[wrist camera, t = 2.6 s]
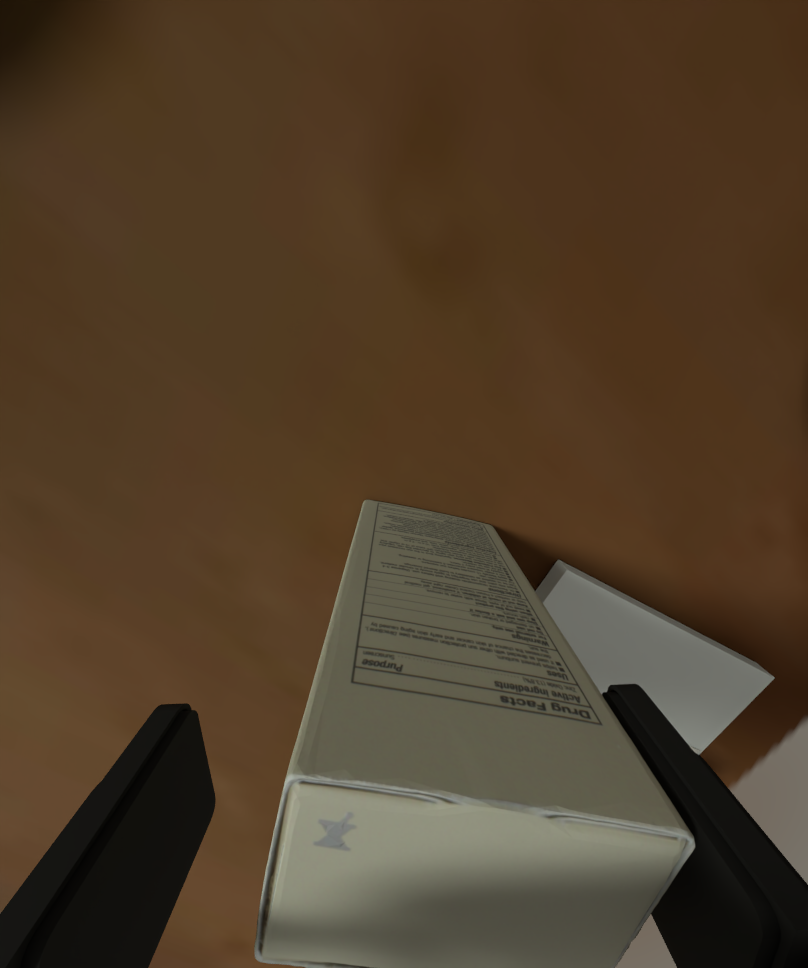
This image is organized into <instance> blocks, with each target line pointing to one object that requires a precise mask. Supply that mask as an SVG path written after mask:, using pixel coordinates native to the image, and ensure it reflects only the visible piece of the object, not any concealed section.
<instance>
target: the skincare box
mask: <svg viewBox="0 0 808 968" xmlns="http://www.w3.org/2000/svg"><path fill="white" fill-rule="evenodd" d="M694 849H695V841H694V836H693V835H692V833H691V832H690V830H689V829H688V827H687V826H686V824H685V823H684V821H683V819H682V818H681V816H680V815H679V813H678V812H677V810H676V808H675V807H674V805H673V804H672V802H671V801H670V799H669V798H668V796H667V795H666V793H665V791H664V790H663V788H662V787H661V785H660V784H659V782H658V781H657V779H656V778H655V776H654V775H653V773H652V772H651V770H650V768H649V767H648V765H647V764H646V762H645V761H644V759H643V758H642V756H641V754H640V753H639V751H638V750H637V748H636V747H635V745H634V743H633V742H632V740H631V739H630V737H629V736H628V734H627V733H626V732H625V730H624V729H623V727H622V725H621V724H620V722H619V721H618V719H617V718H616V716H615V715H614V713H613V711H612V710H611V708H610V707H609V705H608V704H607V702H606V701H605V699H604V697H603V696H602V694H601V693H600V691H599V690H598V688H597V687H596V685H595V683H594V682H593V680H592V679H591V677H590V676H589V674H588V673H587V671H586V670H585V668H584V666H583V665H582V663H581V662H580V660H579V659H578V657H577V656H576V654H575V652H574V651H573V649H572V648H571V646H570V645H569V643H568V642H567V640H566V638H565V637H564V635H563V634H562V632H561V631H560V629H559V628H558V626H557V625H556V623H555V622H554V620H553V618H552V617H551V615H550V614H549V612H548V611H547V609H546V608H545V606H544V604H543V603H542V601H541V600H540V598H539V597H538V595H537V594H536V592H535V591H534V589H533V588H532V586H531V585H530V583H529V581H528V580H527V578H526V577H525V575H524V574H523V572H522V571H521V569H520V567H519V566H518V564H517V563H516V561H515V560H514V558H513V557H512V555H511V554H510V552H509V550H508V549H507V547H506V546H505V544H504V543H503V541H502V540H501V538H500V537H499V535H498V533H497V532H496V530H495V529H494V527H493V526H492V525H489V524H485V523H481V522H477V521H473V520H469V519H464V518H460V517H456V516H451V515H446V514H442V513H437V512H432V511H427V510H422V509H417V508H412V507H407V506H401V505H396V504H390V503H385V502H379V501H373V500H365V501H364V502H363V505H362V509H361V512H360V516H359V519H358V523H357V527H356V530H355V534H354V537H353V541H352V544H351V548H350V551H349V555H348V558H347V562H346V565H345V569H344V572H343V576H342V580H341V583H340V587H339V591H338V594H337V598H336V602H335V605H334V609H333V613H332V616H331V620H330V624H329V627H328V631H327V634H326V638H325V641H324V645H323V648H322V652H321V656H320V659H319V663H318V666H317V670H316V673H315V677H314V681H313V684H312V688H311V691H310V695H309V698H308V702H307V706H306V709H305V712H304V716H303V719H302V723H301V726H300V730H299V733H298V737H297V740H296V743H295V747H294V750H293V754H292V757H291V761H290V764H289V768H288V772H287V776H286V780H285V784H284V788H283V792H282V797H281V801H280V806H279V810H278V815H277V820H276V824H275V828H274V832H273V838H272V843H271V848H270V853H269V857H268V862H267V867H266V872H265V877H264V883H263V889H262V895H261V901H260V908H259V914H258V921H257V932H256V941H255V946H254V947H255V958H256V959H257V960H258V961H259V962H264V963H269V964H284V965H292V966H303V967H306V968H615V966H616V965H617V964H618V962H619V961H620V960H621V958H622V956H623V955H624V953H625V952H626V950H627V949H628V948H629V945H630V943H631V942H632V941H633V940H634V938H635V937H636V936H637V935H638V933H639V931H640V930H641V928H642V926H643V924H644V923H645V922H646V920H647V919H648V917H649V916H650V914H651V913H652V911H653V909H654V908H655V907H656V906H657V904H658V903H659V901H660V899H661V897H662V896H663V895H664V893H665V892H666V891H667V889H668V887H669V886H670V884H671V883H672V881H673V880H674V878H675V877H676V875H677V873H678V872H679V870H680V869H681V867H682V866H683V864H684V863H685V862H686V860H687V859H688V857H689V856H690V855H691V853H692V852H693V850H694Z"/></svg>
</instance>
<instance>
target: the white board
mask: <svg viewBox="0 0 808 968" xmlns="http://www.w3.org/2000/svg"><path fill="white" fill-rule="evenodd" d="M535 592H536V594H537V595H538V597H539V598H540V600H541V601H542V603H543V604H544V606H545V608H546V609H547V611H548V612H549V614H550V615H551V617H552V618H553V620H554V622H555V623H556V625H557V626H558V628H559V629H560V631H561V632H562V634H563V635H564V637H565V638H566V640H567V642H568V643H569V645H570V646H571V648H572V649H573V651H574V652H575V654H576V656H577V657H578V659H579V660H580V662H581V663H582V665H583V666H584V668H585V670H586V671H587V673H588V674H589V676H590V677H591V679H592V680H593V682H594V683H595V685H596V687H597V688H598V690H599V691H600V693H601V694H602V693H603V692H607V690H608V687H609V686H610V685H618V684H637V685H639V686H640V687H641V688H642V689H643V690H644V691H645V692H646V694H647V695H648V696H649V697H650V698H651V700H652V701H653V702H654V703H655V705H656V706H657V707H658V708H659V709H660V711H661V712H662V713H663V714H664V716H665V717H666V718H667V719H668V720H669V722H670V723H671V724H672V725H673V727H674V728H675V729H676V730H677V731H678V733H679V734H680V735H681V736H682V738H683V739H684V740H685V741H686V743H687V744H688V745H689V746H690V747H691V749H692V750H693V751H694V752H695V753H697V754H698V755H699V754H700V753H701V752H702V751H703V750H704V749H705V748H706V747H707V746H708V745H709V744H710V743H711V742H712V741H713V740H714V739H715V738H716V737H717V736H718V735H719V734H720V733H721V732H722V731H723V730H724V729H725V728H726V727H727V726H728V725H729V724H730V723H731V722H732V721H733V720H734V719H735V718H736V717H737V716H738V715H739V714H740V713H741V712H742V711H743V710H744V709H745V708H746V707H747V706H748V705H749V704H750V703H751V702H752V701H753V700H754V699H755V698H756V697H757V696H758V695H759V694H760V693H761V692H762V691H763V690H764V689H765V688H766V687H767V686H768V685H769V684H770V683H771V681H772V680H773V679H774V678H775V677H773V676H772V675H771V674H770V673H768V672H767V671H766V670H765V669H763V668H762V667H761V666H760V665H759V664H757V663H756V662H754V661H752V660H750V659H748V658H746V657H745V656H743V655H741V654H739V653H737V652H735V651H733V650H731V649H729V648H727V647H725V646H723V645H722V644H720V643H718V642H716V641H714V640H712V639H710V638H708V637H706V636H704V635H702V634H700V633H699V632H697V631H695V630H693V629H691V628H689V627H687V626H685V625H683V624H681V623H679V622H677V621H676V620H674V619H672V618H670V617H668V616H666V615H664V614H662V613H660V612H658V611H656V610H654V609H653V608H651V607H649V606H647V605H645V604H643V603H641V602H639V601H637V600H635V599H633V598H631V597H630V596H628V595H626V594H624V593H622V592H620V591H618V590H616V589H614V588H612V587H610V586H608V585H607V584H605V583H603V582H601V581H599V580H597V579H595V578H593V577H591V576H589V575H587V574H585V573H584V572H582V571H580V570H578V569H576V568H574V567H572V566H570V565H568V564H566V563H564V562H562V561H561V560H559V559H558V560H557V562H556V563H555V564H554V566H553V567H552V569H551V570H550V571H549V573H548V574H547V576H546V577H545V578H544V580H543V581H542V583H541V584H540V585H539V587H538V588H537V589H536V591H535Z"/></svg>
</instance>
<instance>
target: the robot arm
mask: <svg viewBox="0 0 808 968" xmlns="http://www.w3.org/2000/svg"><path fill="white" fill-rule="evenodd" d="M602 696H603V697H604V699H605V701H606V702H607V704H608V705H609V707H610V708H611V710H612V711H613V713H614V715H615V716H616V718H617V719H618V721H619V722H620V724H621V725H622V727H623V729H624V730H625V732H626V733H627V734H628V736H629V737H630V739H631V740H632V742H633V743H634V745H635V747H636V748H637V750H638V751H639V753H640V754H641V756H642V758H643V759H644V761H645V762H646V764H647V765H648V767H649V768H650V770H651V772H652V773H653V775H654V776H655V778H656V779H657V781H658V782H659V784H660V785H661V787H662V788H663V790H664V791H665V793H666V795H667V796H668V798H669V799H670V801H671V802H672V804H673V805H674V807H675V808H676V810H677V812H678V813H679V815H680V816H681V818H682V819H683V821H684V823H685V824H686V826H687V827H688V829H689V830H690V832H691V833H692V835H693V836H694V841H695V849H694V850H693V852H692V853H691V855H690V856H689V857H688V859H687V860H686V862H685V863H684V864H683V866H682V867H681V869H680V870H679V872H678V873H677V875H676V877H675V878H674V880H673V881H672V883H671V884H670V886H669V887H668V889H667V891H666V892H665V893H664V895H663V896H662V897H661V899H660V901H659V903H658V904H657V906H656V907H655V908H654V909H653V911H652V913H651V914H652V916H653V919H654V921H655V922H656V925H657V927H658V929H659V931H660V933H661V935H662V937H663V939H664V941H665V943H666V945H667V948H668V949H669V952H670V954H671V956H672V958H673V960H674V962H675V964H676V966H677V968H808V885H807V883H806V882H805V881H804V880H803V879H802V877H801V876H800V875H799V874H798V873H797V871H796V870H795V869H794V868H793V867H792V865H791V864H790V863H789V862H788V860H787V859H786V858H785V857H784V856H783V855H782V853H781V852H780V851H779V850H778V848H777V847H776V846H775V845H774V843H773V842H772V841H771V840H770V839H769V838H768V836H767V835H766V834H765V833H764V831H763V830H762V829H761V828H760V827H759V825H758V824H757V823H756V822H755V821H754V819H753V818H752V817H751V816H750V814H749V813H748V812H747V811H746V810H745V808H744V807H743V806H742V805H741V804H740V802H739V801H738V800H737V799H736V797H735V796H734V795H733V794H732V793H731V791H730V790H729V789H728V788H727V787H726V785H725V784H724V783H723V782H722V781H721V779H720V778H719V777H718V776H717V774H716V773H715V772H714V771H713V770H712V768H711V767H710V766H709V765H708V764H707V763H706V761H705V760H704V759H703V758H702V757H701V756H700V755H698V754H697V753H695V752H694V751H693V750H692V749H691V747H690V746H689V745H688V744H687V743H686V741H685V740H684V739H683V738H682V736H681V735H680V734H679V733H678V731H677V730H676V729H675V728H674V727H673V725H672V724H671V723H670V722H669V720H668V719H667V718H666V717H665V716H664V714H663V713H662V712H661V711H660V709H659V708H658V707H657V706H656V705H655V703H654V702H653V701H652V700H651V698H650V697H649V696H648V695H647V694H646V692H645V691H644V690H643V689H642V688H641V687H640V686H639V685H637V684H618V685H610V686H609V687H608V690H607V692H603V693H602ZM214 808H215V793H214V788H213V783H212V779H211V774H210V769H209V765H208V760H207V755H206V751H205V746H204V741H203V737H202V732H201V727H200V723H199V718H198V714H197V712H196V711H195V710H191V707H190V705H189V704H164V705H160V706H158V707H157V708H156V709H155V710H154V711H153V713H152V714H151V715H150V717H149V718H148V719H147V721H146V722H145V723H144V725H143V726H142V727H141V729H140V730H139V731H138V733H137V734H136V735H135V737H134V738H133V740H132V741H131V742H130V744H129V745H128V746H127V748H126V749H125V750H124V752H123V753H122V754H121V756H120V757H119V758H118V760H117V761H116V762H115V764H114V765H113V766H112V768H111V769H110V771H109V772H108V773H107V775H106V776H105V777H104V779H103V780H102V781H101V782H100V783H99V784H98V785H97V786H96V787H95V789H94V790H93V791H92V792H91V793H90V795H89V796H88V797H87V799H86V800H85V801H84V803H83V804H82V805H81V807H80V808H79V809H78V811H77V812H76V813H75V815H74V816H73V817H72V819H71V820H70V821H69V823H68V824H67V825H66V827H65V828H64V829H63V831H62V832H61V833H60V835H59V836H58V837H57V839H56V840H55V841H54V843H53V844H52V845H51V847H50V848H49V849H48V851H47V852H46V853H45V855H44V856H43V858H42V859H41V860H40V862H39V863H38V864H37V866H36V867H35V868H34V870H33V871H32V872H31V874H30V875H29V876H28V878H27V879H26V880H25V882H24V883H23V884H22V886H21V887H20V888H19V890H18V891H17V892H16V894H15V895H14V896H13V898H12V899H11V900H10V902H9V903H8V904H7V906H6V907H5V908H4V910H3V911H2V912H1V914H0V968H148V967H149V965H150V962H151V960H152V957H153V955H154V953H155V950H156V948H157V946H158V943H159V941H160V939H161V936H162V934H163V932H164V929H165V927H166V924H167V922H168V920H169V917H170V915H171V913H172V910H173V908H174V906H175V903H176V901H177V899H178V896H179V894H180V891H181V889H182V887H183V884H184V882H185V880H186V877H187V875H188V873H189V870H190V868H191V866H192V863H193V861H194V858H195V856H196V854H197V851H198V849H199V847H200V844H201V842H202V840H203V837H204V835H205V833H206V830H207V828H208V825H209V823H210V821H211V818H212V815H213V812H214Z"/></svg>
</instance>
